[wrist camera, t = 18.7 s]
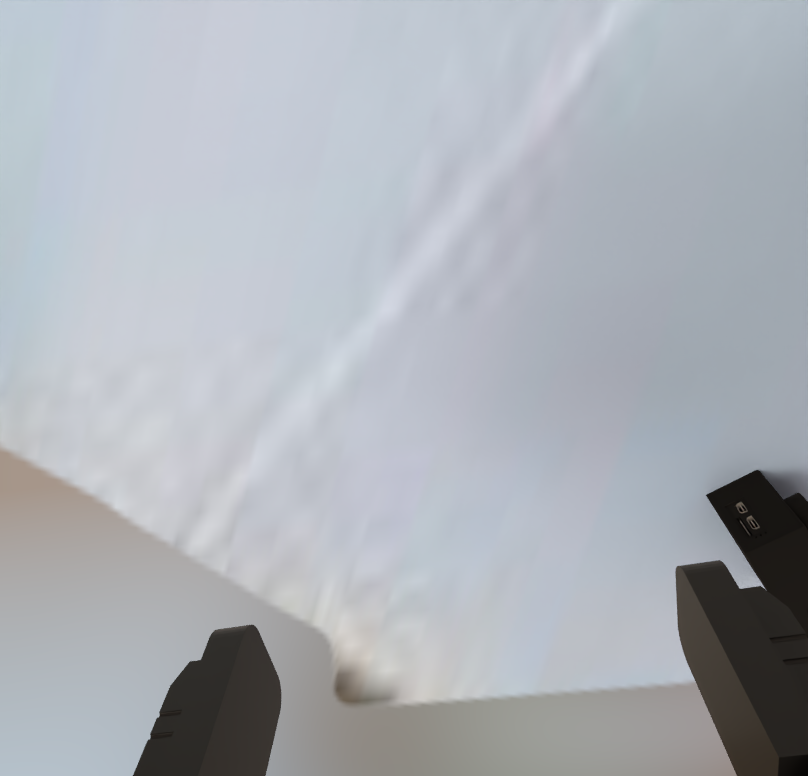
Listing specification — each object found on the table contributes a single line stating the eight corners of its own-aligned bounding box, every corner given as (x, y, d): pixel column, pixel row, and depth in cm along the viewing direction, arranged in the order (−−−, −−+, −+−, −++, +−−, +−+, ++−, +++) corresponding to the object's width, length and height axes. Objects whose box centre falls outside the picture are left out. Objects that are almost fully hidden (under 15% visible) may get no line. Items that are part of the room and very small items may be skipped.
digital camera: (822, 548, 52) (876, 613, 46) (758, 577, 54) (801, 644, 48) (772, 460, 49) (823, 518, 43) (705, 494, 50) (745, 554, 44)
